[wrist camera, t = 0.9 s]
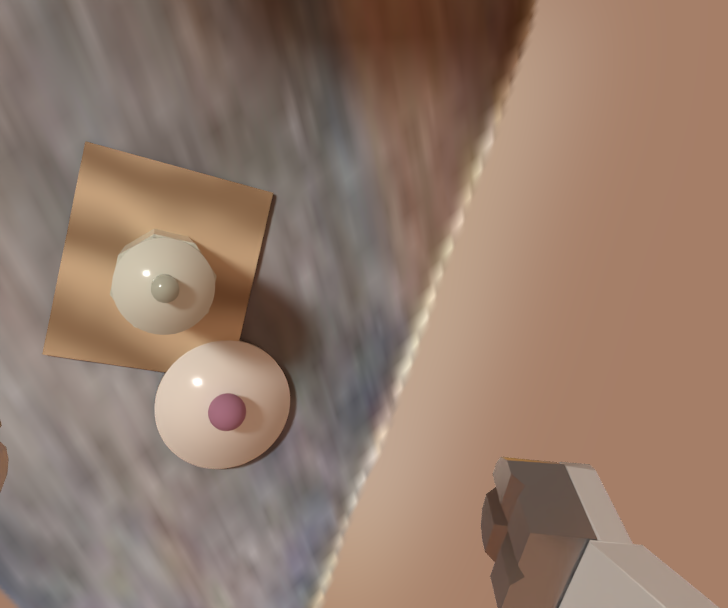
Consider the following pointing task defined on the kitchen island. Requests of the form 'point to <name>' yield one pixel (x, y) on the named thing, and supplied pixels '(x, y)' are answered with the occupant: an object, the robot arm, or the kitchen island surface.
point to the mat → (132, 220)
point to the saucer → (203, 384)
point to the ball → (227, 412)
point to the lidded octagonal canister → (162, 283)
